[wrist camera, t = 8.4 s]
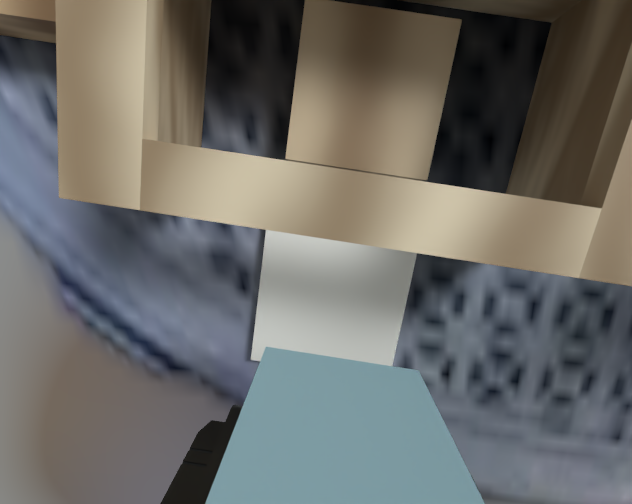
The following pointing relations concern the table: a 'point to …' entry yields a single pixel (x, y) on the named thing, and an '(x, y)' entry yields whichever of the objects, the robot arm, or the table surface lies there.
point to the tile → (331, 298)
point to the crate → (358, 132)
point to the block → (339, 438)
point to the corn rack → (28, 19)
